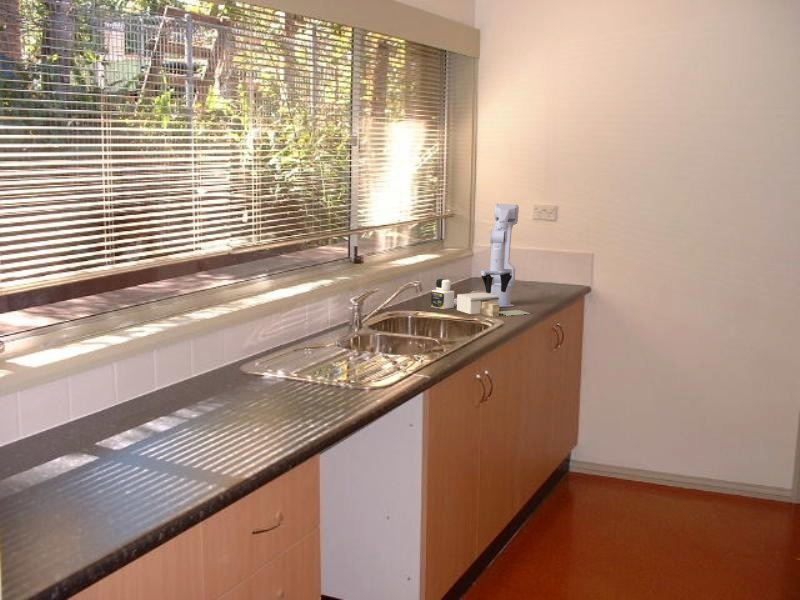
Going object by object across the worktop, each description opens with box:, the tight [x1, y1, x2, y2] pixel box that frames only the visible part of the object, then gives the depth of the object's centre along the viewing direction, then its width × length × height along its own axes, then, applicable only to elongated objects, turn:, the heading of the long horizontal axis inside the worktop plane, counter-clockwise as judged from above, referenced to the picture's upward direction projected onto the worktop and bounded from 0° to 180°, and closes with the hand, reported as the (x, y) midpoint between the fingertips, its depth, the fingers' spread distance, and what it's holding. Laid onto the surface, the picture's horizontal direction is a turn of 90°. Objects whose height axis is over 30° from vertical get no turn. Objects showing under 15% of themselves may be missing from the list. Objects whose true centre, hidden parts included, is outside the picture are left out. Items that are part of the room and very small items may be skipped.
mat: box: [499, 309, 531, 317], centre depth 395 cm, size 8×12×1 cm, turn 121°
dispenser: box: [456, 292, 499, 315], centre depth 397 cm, size 10×14×7 cm
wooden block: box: [479, 301, 500, 318], centre depth 391 cm, size 10×3×5 cm, turn 30°
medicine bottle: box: [430, 278, 455, 310], centre depth 403 cm, size 7×7×12 cm
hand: (495, 292), depth 388 cm, fingers open, 7 cm apart
